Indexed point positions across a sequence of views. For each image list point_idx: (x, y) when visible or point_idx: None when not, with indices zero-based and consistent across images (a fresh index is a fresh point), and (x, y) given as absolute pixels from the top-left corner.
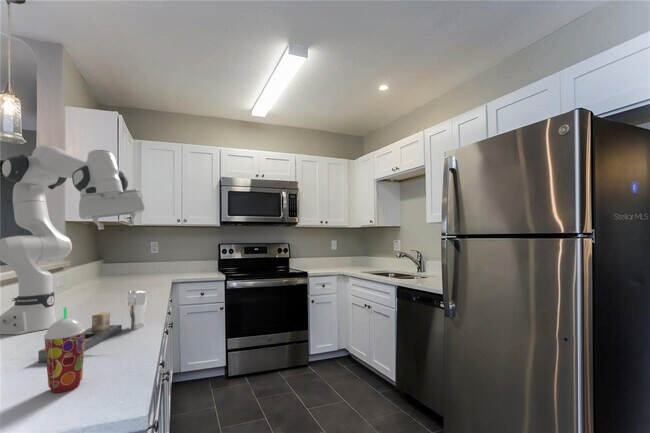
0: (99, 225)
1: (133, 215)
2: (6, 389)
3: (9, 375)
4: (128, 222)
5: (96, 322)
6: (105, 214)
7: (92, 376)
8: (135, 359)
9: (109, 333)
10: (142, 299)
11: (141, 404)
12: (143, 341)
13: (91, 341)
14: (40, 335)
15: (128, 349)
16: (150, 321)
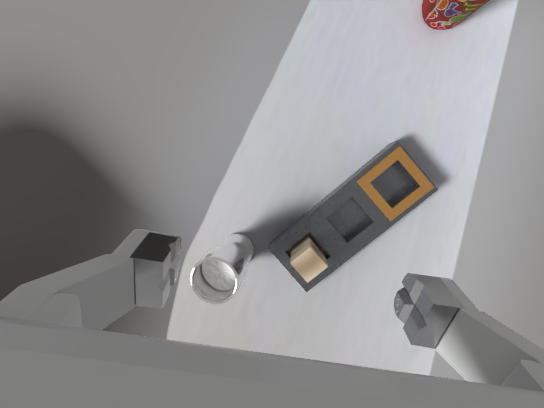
0: (458, 293)
1: (60, 284)
2: (496, 87)
3: (475, 158)
4: (167, 288)
5: (319, 253)
6: (461, 385)
7: (397, 27)
8: (320, 50)
9: (303, 218)
10: (213, 250)
11: None
12: (265, 149)
13: (350, 179)
14: None
15: (303, 123)
16: None
